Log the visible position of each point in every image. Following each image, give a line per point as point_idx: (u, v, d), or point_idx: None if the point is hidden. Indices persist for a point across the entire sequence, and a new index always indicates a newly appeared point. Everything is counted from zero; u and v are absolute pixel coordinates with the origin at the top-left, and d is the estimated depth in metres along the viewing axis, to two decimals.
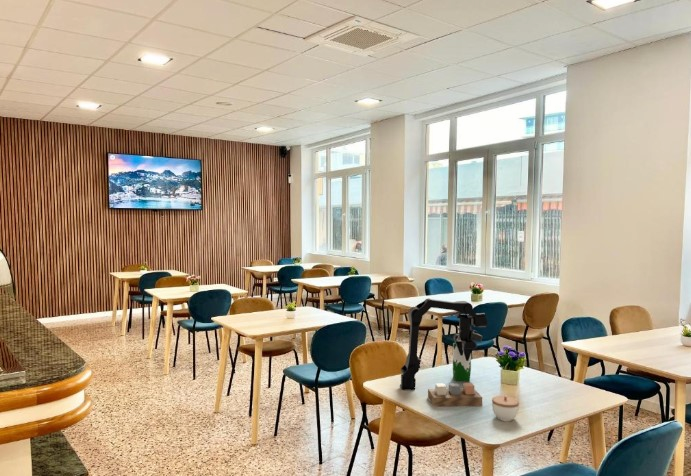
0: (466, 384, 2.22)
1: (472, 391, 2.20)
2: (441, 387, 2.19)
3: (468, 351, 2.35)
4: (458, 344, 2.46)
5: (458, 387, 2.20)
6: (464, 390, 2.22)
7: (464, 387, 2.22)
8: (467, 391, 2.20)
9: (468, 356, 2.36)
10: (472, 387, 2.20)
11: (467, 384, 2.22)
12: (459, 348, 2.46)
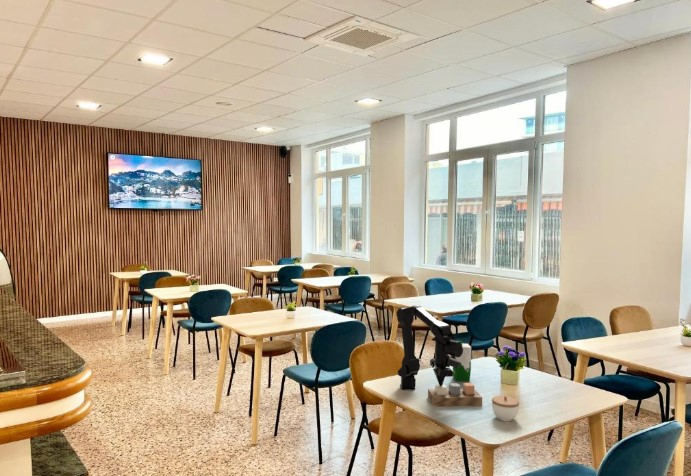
0: (466, 384, 2.22)
1: (472, 391, 2.20)
2: (441, 388, 2.19)
3: None
4: None
5: (458, 387, 2.20)
6: (464, 390, 2.22)
7: (464, 387, 2.22)
8: (467, 391, 2.20)
9: (442, 381, 2.20)
10: (472, 387, 2.20)
11: (467, 384, 2.22)
12: None
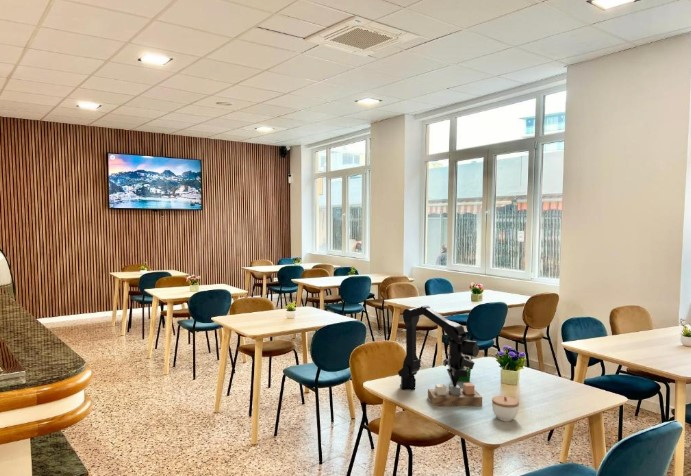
0: (466, 384, 2.22)
1: (472, 391, 2.20)
2: (441, 388, 2.19)
3: (456, 376, 2.20)
4: None
5: (458, 388, 2.20)
6: (464, 390, 2.22)
7: (464, 387, 2.22)
8: (467, 391, 2.20)
9: (456, 381, 2.21)
10: (472, 387, 2.20)
11: (467, 384, 2.22)
12: None
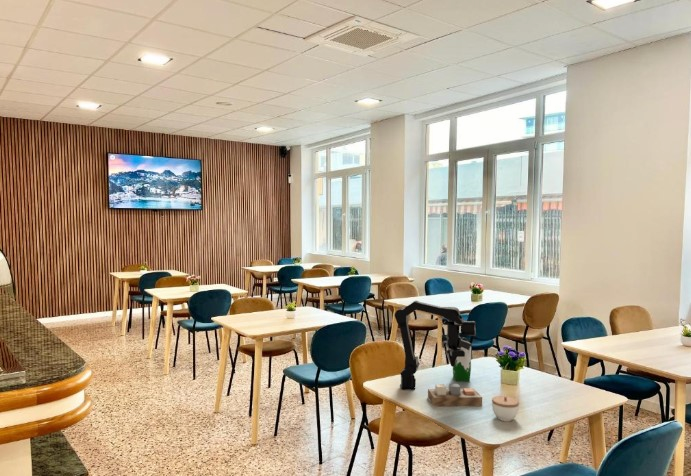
0: (466, 390, 2.22)
1: None
2: (441, 388, 2.19)
3: (453, 357, 2.31)
4: None
5: (458, 388, 2.20)
6: None
7: (464, 393, 2.22)
8: None
9: (453, 362, 2.31)
10: (472, 393, 2.20)
11: (467, 390, 2.22)
12: None
